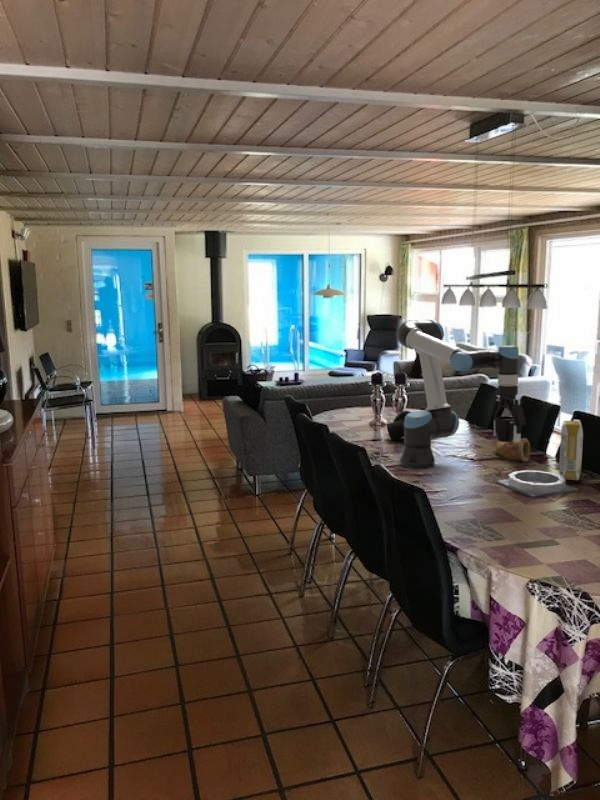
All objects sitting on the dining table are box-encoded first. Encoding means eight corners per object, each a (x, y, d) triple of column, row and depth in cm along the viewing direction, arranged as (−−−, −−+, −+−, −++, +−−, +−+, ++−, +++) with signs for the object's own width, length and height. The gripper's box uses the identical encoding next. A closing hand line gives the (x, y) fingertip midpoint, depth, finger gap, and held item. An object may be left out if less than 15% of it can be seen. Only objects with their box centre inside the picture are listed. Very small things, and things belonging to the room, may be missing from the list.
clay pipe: (501, 470, 282) (535, 462, 277) (494, 448, 281) (528, 439, 276) (499, 459, 300) (531, 451, 295) (492, 438, 299) (525, 429, 294)
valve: (395, 429, 306) (382, 415, 335) (402, 456, 309) (389, 441, 338) (438, 416, 306) (421, 403, 336) (445, 444, 309) (427, 429, 339)
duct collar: (532, 497, 232) (533, 487, 231) (496, 482, 251) (496, 473, 250) (577, 491, 239) (578, 481, 238) (539, 476, 258) (539, 467, 258)
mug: (500, 445, 247) (501, 421, 246) (492, 438, 259) (492, 416, 258) (521, 444, 247) (522, 420, 245) (512, 438, 259) (512, 415, 257)
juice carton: (580, 481, 251) (584, 422, 247) (559, 479, 254) (562, 421, 250) (579, 475, 260) (582, 418, 256) (558, 473, 262) (561, 417, 258)
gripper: (536, 387, 240) (535, 443, 243) (496, 381, 262) (495, 432, 265) (520, 388, 237) (519, 445, 240) (481, 382, 260) (480, 434, 263)
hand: (506, 438), depth 253 cm, fingers closed on mug, 12 cm apart
